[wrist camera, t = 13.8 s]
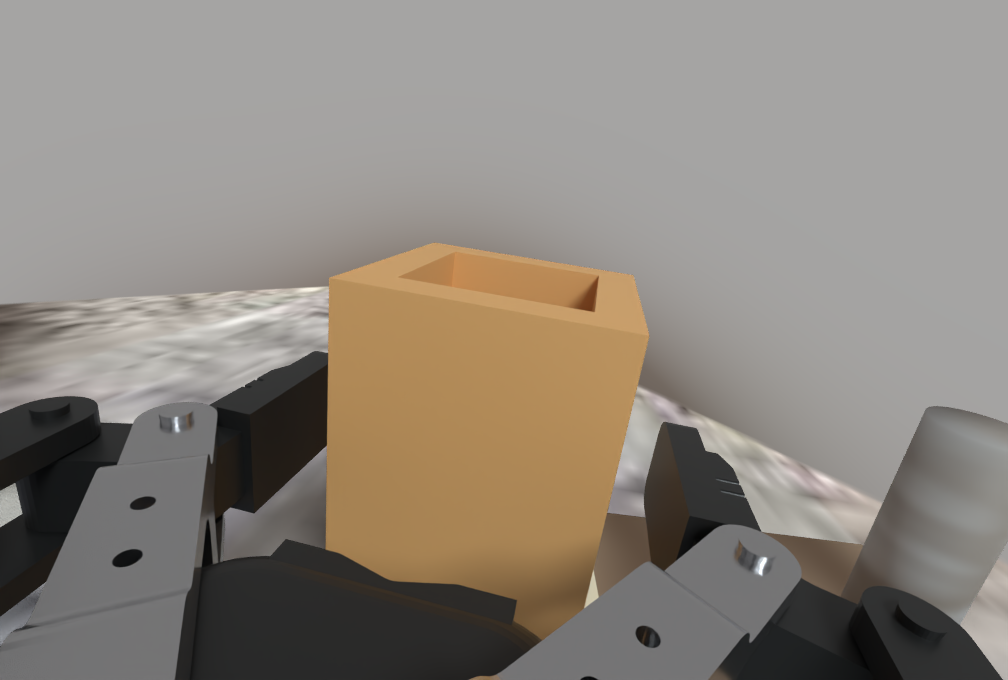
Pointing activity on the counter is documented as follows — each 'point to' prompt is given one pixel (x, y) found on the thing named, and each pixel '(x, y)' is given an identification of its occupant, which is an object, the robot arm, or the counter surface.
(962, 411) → the post board
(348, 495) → the sleeve
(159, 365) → the counter surface
